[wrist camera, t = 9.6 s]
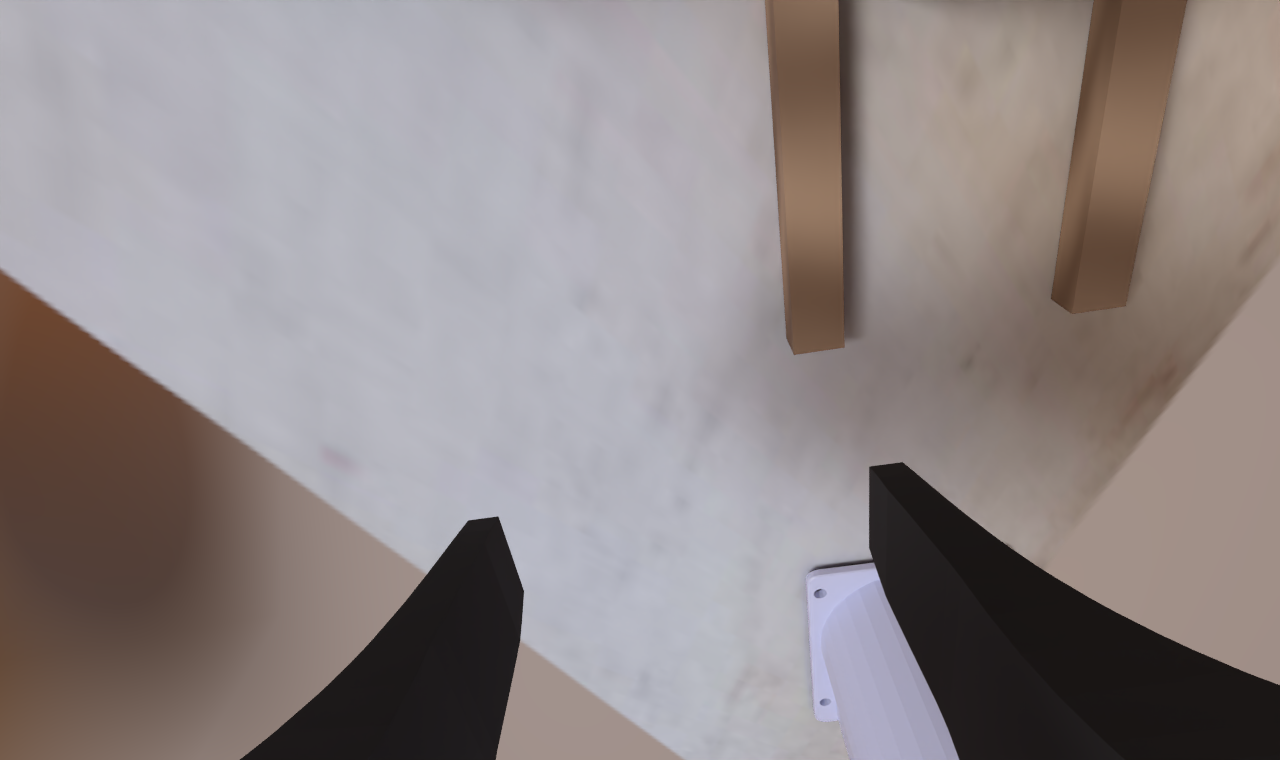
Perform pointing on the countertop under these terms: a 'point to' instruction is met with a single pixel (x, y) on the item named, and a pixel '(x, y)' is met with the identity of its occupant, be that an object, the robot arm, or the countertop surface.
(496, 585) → the robot arm
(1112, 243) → the guide channel
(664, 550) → the countertop surface
